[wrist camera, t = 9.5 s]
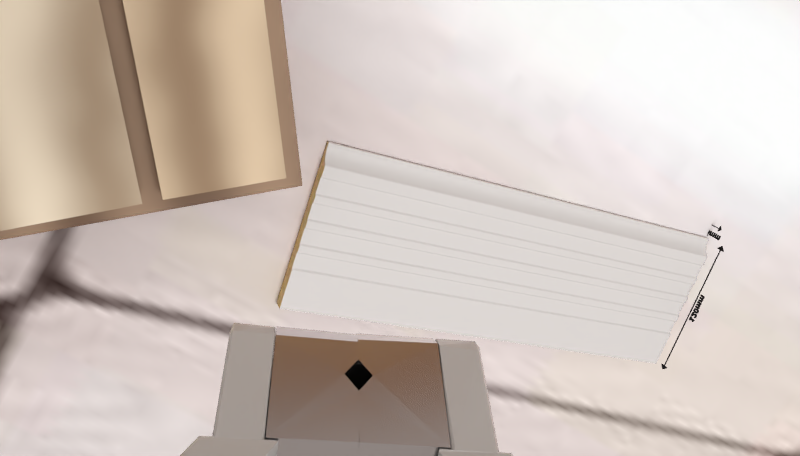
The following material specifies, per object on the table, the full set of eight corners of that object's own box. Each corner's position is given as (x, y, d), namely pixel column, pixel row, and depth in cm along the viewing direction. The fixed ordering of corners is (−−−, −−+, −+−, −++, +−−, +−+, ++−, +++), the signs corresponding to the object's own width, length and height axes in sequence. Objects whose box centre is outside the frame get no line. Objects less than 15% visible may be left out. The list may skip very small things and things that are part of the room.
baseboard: (332, 113, 44) (274, 297, 47) (346, 126, 41) (284, 320, 44) (710, 216, 57) (644, 353, 60) (738, 231, 54) (668, 373, 58)
